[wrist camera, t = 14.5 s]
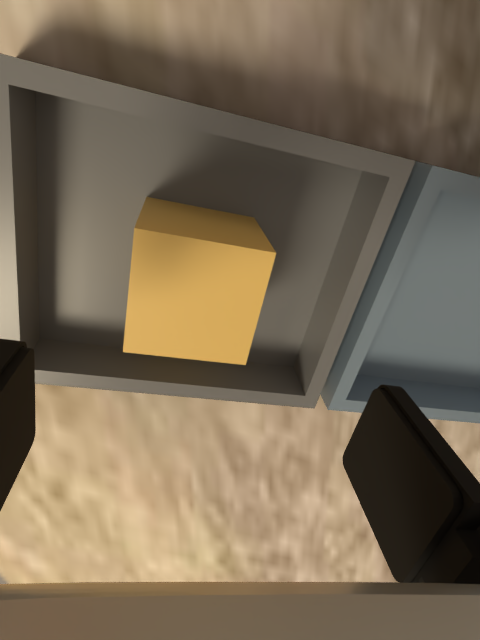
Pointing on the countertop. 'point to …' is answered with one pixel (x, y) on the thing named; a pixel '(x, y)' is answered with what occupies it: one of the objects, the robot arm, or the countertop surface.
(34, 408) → the robot arm
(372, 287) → the slate-blue tray
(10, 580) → the countertop surface
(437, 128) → the countertop surface
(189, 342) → the ochre block
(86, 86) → the charcoal tray
